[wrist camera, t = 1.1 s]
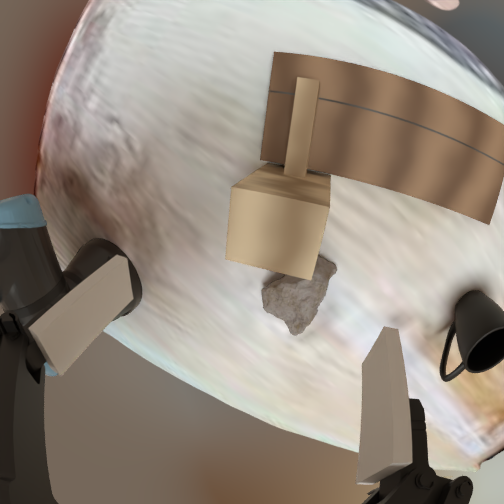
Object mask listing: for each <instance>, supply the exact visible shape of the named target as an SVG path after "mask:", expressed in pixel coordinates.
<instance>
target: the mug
mask: <svg viewBox="0 0 504 504" xmlns="http://www.w3.org/2000/svg"><path fill="white" fill-rule="evenodd" d="M455 333H456V336H457V342H458V347H459V351H460V355H461V358H462V363H461V364H460V365H459V366H458V367H457V368H456V369H455V370H454V371H453V372H451V373H450V374H448V375H446V364H447V359H448V355H449V351H450V347H451V343H452V340H453V337H454V335H455ZM503 359H504V311H503V310H502V309H501V308H500V307H499V305H498V304H497V303H495V302H494V301H493V300H492V299H490V298H489V297H487V296H486V295H485V294H483V293H482V292H480V291H477V290H474V291H470V292H468V293H466V294H465V295H464V296H462V297H461V298H460V300H459V301H458V303H457V305H456V307H455V321H454V322H453V324H452V325H451V327H450V329H449V332H448V335H447V339H446V343H445V347H444V351H443V355H442V359H441V363H440V376H441V379H442V380H443V381H445V382H447V381H450V380H452V379H454V378H455V377H456V376H458V375H459V374H460V373H461V372H462V371H463V370H464V369H466V370H467V371H469V372H471V373H480V372H484V371H487V370H489V369H491V368H493V367H494V366H496V365H497V364H499V363H500V362H501V361H502V360H503Z"/></svg>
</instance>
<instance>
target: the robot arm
mask: <svg viewBox="0 0 504 504" xmlns="http://www.w3.org/2000/svg"><path fill="white" fill-rule="evenodd" d="M46 225H47V222H46V220H44V217H43V213H42V210H41V207H40V204H39V201H38V199H37V198H36V197H35V196H34V195H32V194H23V195H19V196H15V197H11V198H8V199H5V200H1V201H0V305H1V307H2V308H3V310H4V312H5V313H3V314H2V315H1V316H0V504H58V503H57V502H56V500H55V499H54V497H53V495H52V491H51V485H50V480H49V473H48V466H47V457H46V447H45V432H44V383H45V374H46V375H49V376H56V375H58V374H59V375H60V376H62V375H63V374H64V373H65V371H66V370H67V369H68V368H69V367H70V366H71V365H72V364H73V362H74V361H75V360H76V359H77V358H78V357H79V356H80V354H81V353H82V352H83V351H84V350H85V349H86V348H87V347H88V346H89V345H90V343H91V342H92V341H93V340H94V339H95V338H96V337H97V336H98V335H99V334H100V333H101V332H102V331H103V330H104V329H105V328H106V326H107V325H108V324H109V323H110V322H112V321H114V320H116V319H118V318H119V317H121V316H125V315H127V314H129V313H131V312H132V311H133V310H134V309H135V308H136V307H137V306H138V304H139V303H140V301H141V297H142V288H141V283H140V280H139V277H138V275H137V272H136V270H135V268H134V267H133V265H132V263H131V262H130V261H129V259H128V258H127V257H126V255H125V254H124V253H123V252H122V251H121V250H120V249H119V248H117V247H116V246H115V245H113V244H112V243H110V242H108V241H106V240H103V239H93V240H91V241H89V242H88V243H86V244H85V245H83V246H82V247H81V248H80V249H79V251H78V252H77V254H76V256H75V257H74V258H73V260H72V261H71V262H70V264H69V265H68V267H67V268H66V269H65V270H64V271H63V272H62V270H61V268H60V265H59V262H58V260H57V257H56V254H55V251H54V249H53V246H52V243H51V240H50V237H49V233H48V230H47V227H46ZM379 481H380V487H379V488H376V489H374V490H372V491H370V492H369V493H368V495H370V494H371V495H370V496H369V497H368V498H367V499H366V500H365V501H364V502H363V503H362V504H469V501H470V498H471V495H472V491H473V484H472V481H471V480H470V478H468V477H467V476H461V477H458V478H456V479H454V480H451V479H447V478H443V477H439V476H437V475H436V473H435V471H434V470H433V469H432V468H431V467H429V463H428V448H427V433H426V423H425V413H424V408H423V406H422V404H421V402H420V400H419V399H410V398H409V396H408V387H407V379H406V372H405V366H404V359H403V353H402V347H401V342H400V337H399V332H398V329H394V328H389V327H383V329H382V331H381V333H380V335H379V336H378V338H377V340H376V342H375V343H374V345H373V347H372V348H371V350H370V352H369V353H368V355H367V357H366V358H365V360H364V362H363V363H362V413H361V433H360V447H359V459H358V468H357V476H356V484H375V483H376V482H379Z"/></svg>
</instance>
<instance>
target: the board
mask: <svg viewBox="0 0 504 504" xmlns="http://www.w3.org/2000/svg"><path fill="white" fill-rule="evenodd" d="M297 77H301V78H307V79H314V80H320V91H319V98H318V105H317V111H316V118H315V125H314V131H313V137H312V143H311V149H310V155H309V161H308V167H307V169H310V170H315V171H320V172H324V173H329V174H333V175H337V176H341V177H345V178H349V179H353V180H357V181H361V182H365V183H368V184H372V185H376V186H379V187H383V188H386V189H390V190H393V191H396V192H400V193H403V194H406V195H409V196H412V197H416V198H419V199H422V200H425V201H428V202H430V203H433V204H436V205H439V206H442V207H445V208H447V209H450V210H453V211H455V212H458V213H461V214H463V215H466V216H468V217H471V218H473V219H476V220H478V221H481V222H483V223H485V224H488V225H489V224H490V221H491V218H492V215H493V212H494V209H495V206H496V203H497V199H498V196H499V192H500V189H501V185H502V181H503V177H504V125H503V124H501V123H500V122H498V121H497V120H495V119H493V118H491V117H490V116H488V115H486V114H484V113H483V112H481V111H479V110H477V109H475V108H473V107H471V106H469V105H467V104H465V103H463V102H461V101H459V100H457V99H455V98H453V97H451V96H449V95H446V94H444V93H442V92H439V91H437V90H435V89H432V88H430V87H427V86H425V85H422V84H419V83H417V82H414V81H411V80H408V79H405V78H402V77H399V76H396V75H393V74H390V73H387V72H383V71H380V70H376V69H372V68H369V67H365V66H361V65H357V64H352V63H348V62H343V61H338V60H333V59H327V58H322V57H315V56H309V55H301V54H293V53H283V52H274V57H273V65H272V72H271V80H270V87H269V95H268V103H267V111H266V118H265V126H264V134H263V142H262V150H261V157H260V160H263V161H269V162H275V163H280V164H285V161H286V154H287V148H288V141H289V134H290V127H291V120H292V113H293V106H294V99H295V91H296V84H297Z"/></svg>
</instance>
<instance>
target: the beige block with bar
mask: <svg viewBox="0 0 504 504" xmlns="http://www.w3.org/2000/svg"><path fill="white" fill-rule="evenodd" d="M319 91H320V80H314V79H307V78H301V77H297V84H296V91H295V99H294V106H293V113H292V120H291V127H290V134H289V141H288V148H287V154H286V161H285V166H284V165H279V164H273V163H267V164H266V165H264V166H262V167H261V168H259V169H258V170H256V171H255V172H253V173H252V174H250V175H249V176H247V177H246V178H244V179H243V180H241V181H240V182H238V183H237V184H235V185H234V186H232V187H231V198H230V209H229V220H228V232H227V245H226V257H225V259H226V260H230V261H234V262H238V263H242V264H246V265H250V266H254V267H258V268H262V269H266V270H270V271H274V272H278V273H282V274H286V275H290V276H295V277H299V278H303V279H307V280H311V279H312V276H313V272H314V268H315V265H316V261H317V257H318V253H319V249H320V246H321V242H322V238H323V234H324V229H325V225H326V221H327V217H328V213H329V208H330V180H331V175H328V174H323V173H319V172H314V171H309V170H307V167H308V161H309V155H310V149H311V143H312V137H313V131H314V125H315V118H316V111H317V105H318V98H319Z"/></svg>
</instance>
